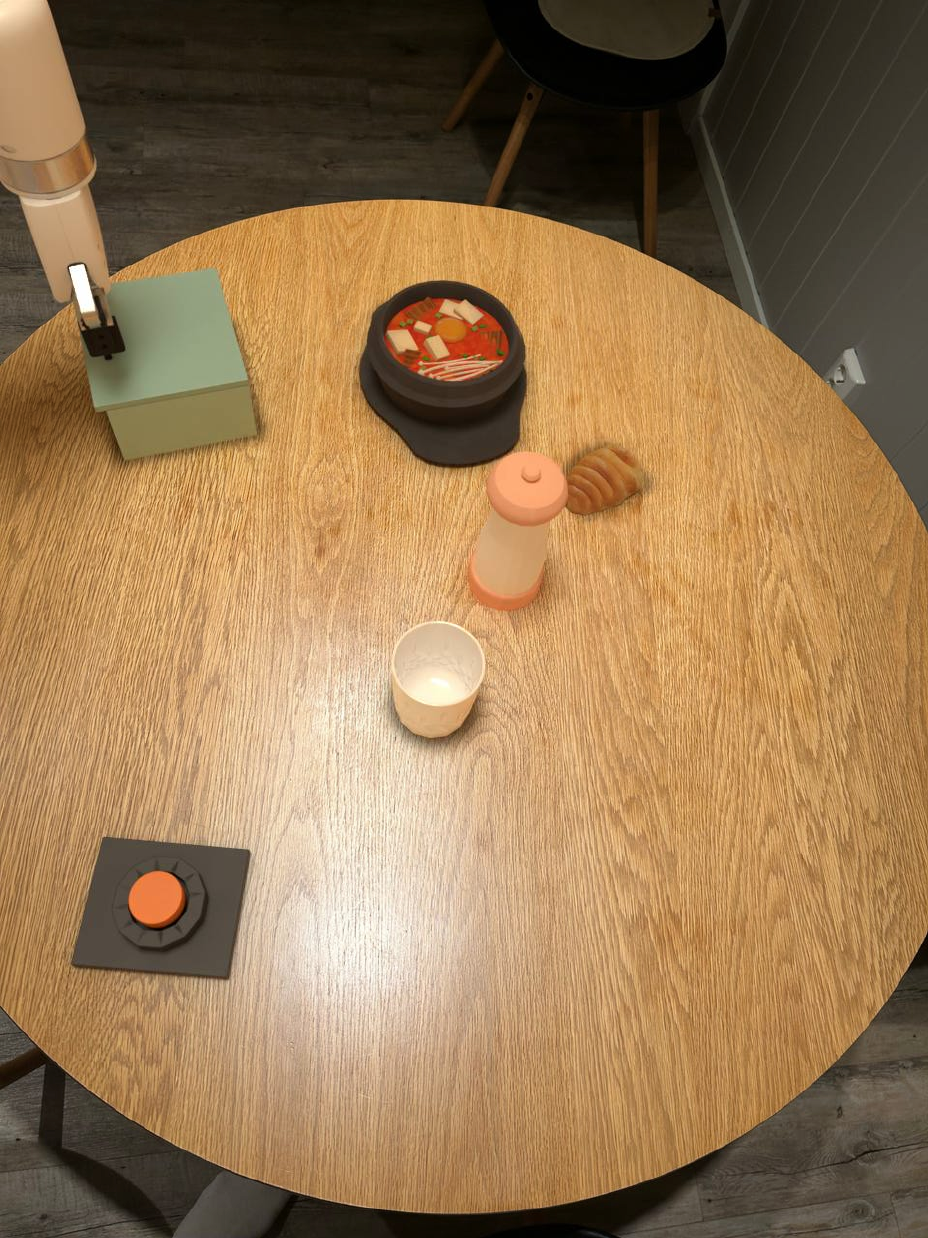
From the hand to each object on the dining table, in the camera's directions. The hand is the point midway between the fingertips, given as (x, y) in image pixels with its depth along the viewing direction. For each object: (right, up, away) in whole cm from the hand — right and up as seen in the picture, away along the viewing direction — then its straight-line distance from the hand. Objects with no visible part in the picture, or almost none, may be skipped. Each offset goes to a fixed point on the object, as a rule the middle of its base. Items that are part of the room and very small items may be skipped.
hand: (100, 314), depth 88 cm
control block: (+10, -53, -12) cm, 55 cm away
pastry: (+49, -15, +12) cm, 53 cm away
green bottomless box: (+4, -5, +13) cm, 14 cm away
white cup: (+31, -37, -1) cm, 49 cm away
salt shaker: (+38, -25, +6) cm, 46 cm away
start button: (+10, -51, -15) cm, 54 cm away
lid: (+4, -1, +5) cm, 6 cm away
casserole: (+32, -3, +17) cm, 36 cm away
